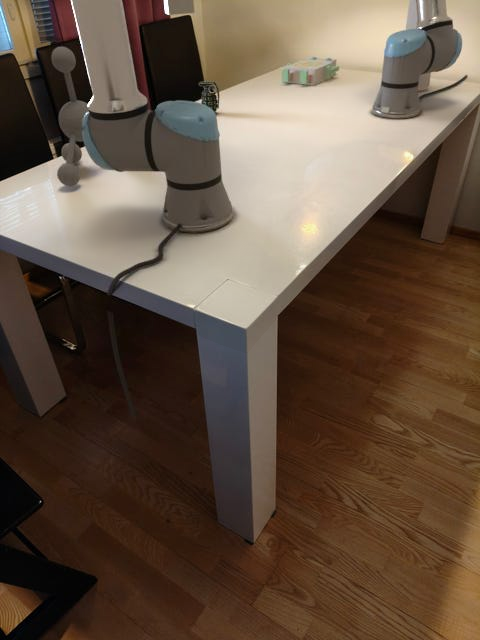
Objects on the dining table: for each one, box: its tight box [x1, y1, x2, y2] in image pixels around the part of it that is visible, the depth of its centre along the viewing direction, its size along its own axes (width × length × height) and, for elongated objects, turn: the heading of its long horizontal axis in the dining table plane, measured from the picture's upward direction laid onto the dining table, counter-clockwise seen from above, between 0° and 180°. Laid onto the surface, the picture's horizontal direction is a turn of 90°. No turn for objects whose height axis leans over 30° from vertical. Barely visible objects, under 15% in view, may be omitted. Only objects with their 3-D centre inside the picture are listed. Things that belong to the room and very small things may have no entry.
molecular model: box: [50, 46, 89, 187], centre depth 124 cm, size 24×22×30 cm
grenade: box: [197, 81, 220, 113], centre depth 169 cm, size 7×6×10 cm
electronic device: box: [405, 0, 432, 92], centre depth 176 cm, size 12×8×30 cm, turn 105°
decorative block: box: [281, 56, 340, 86], centre depth 204 cm, size 26×6×20 cm
